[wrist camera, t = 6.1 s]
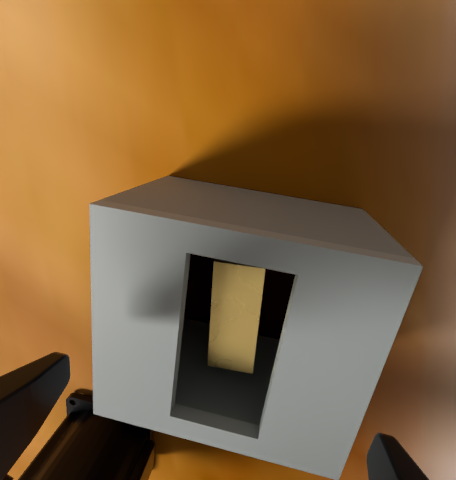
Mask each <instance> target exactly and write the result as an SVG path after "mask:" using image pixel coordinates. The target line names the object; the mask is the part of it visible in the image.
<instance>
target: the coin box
mask: <svg viewBox="0 0 456 480" xmlns="http://www.w3.org/2000/svg"><path fill="white" fill-rule="evenodd" d="M191 254H195V255H200V256H205V257H210V258H215V259H220V260H225V261H230V262H235V263H240V264H245V265H250V266H255V267H260V268H265V269H270V270H275V271H280V272H285V273H290V274H295V278H294V283H293V287H292V291H291V295H290V299H289V303H288V308H287V312H286V316H285V320H284V324H283V329H282V333H281V337H280V340H278V339H274V338H269V337H265V336H260V335H258V336H257V344H256V352H255V359H254V367H253V374H251V373H245V372H240V371H234V370H229V369H223V368H218V367H212V366H208V349H209V332H210V324H207V323H203V322H198V321H194V320H189V319H185V318H184V312H185V303H186V293H187V284H188V274H189V265H190V255H191ZM90 258H91V312H92V366H93V414H95V415H99V416H103V417H106V418H110V419H114V420H117V421H121V422H125V423H128V424H132V425H136V426H139V427H143V428H147V429H150V430H154V431H158V432H162V433H165V434H169V435H173V436H176V437H180V438H184V439H187V440H191V441H195V442H198V443H202V444H206V445H209V446H213V447H217V448H220V449H224V450H228V451H232V452H235V453H239V454H243V455H246V456H250V457H254V458H257V459H261V460H265V461H268V462H272V463H276V464H279V465H283V466H287V467H290V468H294V469H298V470H302V471H305V472H309V473H313V474H316V475H320V476H324V477H327V478H331V479H335V480H339V478H340V475H341V473H342V470H343V468H344V465H345V463H346V460H347V458H348V455H349V453H350V450H351V448H352V445H353V443H354V440H355V438H356V435H357V432H358V430H359V427H360V425H361V422H362V420H363V417H364V415H365V412H366V410H367V407H368V405H369V402H370V400H371V397H372V395H373V392H374V390H375V387H376V385H377V382H378V380H379V377H380V375H381V372H382V370H383V367H384V364H385V362H386V359H387V357H388V354H389V352H390V349H391V347H392V344H393V342H394V339H395V337H396V334H397V332H398V329H399V327H400V324H401V322H402V319H403V317H404V314H405V312H406V309H407V307H408V304H409V302H410V299H411V297H412V294H413V291H414V289H415V286H416V284H417V281H418V279H419V276H420V274H421V271H422V269H423V266H422V265H421V264H420V263H419V262H418V261H417V260H416V259H415V258H414V257H413V256H412V255H411V254H410V253H409V252H408V251H407V250H406V249H405V248H404V247H402V246H401V245H400V244H399V243H398V242H397V241H396V240H395V239H394V238H393V237H392V236H391V235H390V234H389V233H388V232H387V231H386V230H385V229H384V228H382V227H381V226H380V225H379V224H378V223H377V222H376V221H375V220H374V219H373V218H372V217H371V216H370V215H369V214H368V213H367V212H366V211H365V210H363V209H360V208H354V207H348V206H342V205H337V204H331V203H325V202H319V201H313V200H307V199H301V198H296V197H290V196H284V195H278V194H272V193H266V192H261V191H255V190H249V189H243V188H237V187H231V186H225V185H220V184H214V183H208V182H202V181H196V180H190V179H185V178H179V177H173V176H166V177H163V178H160V179H157V180H155V181H152V182H149V183H146V184H143V185H141V186H138V187H135V188H132V189H129V190H127V191H124V192H121V193H118V194H115V195H113V196H110V197H107V198H104V199H101V200H99V201H96V202H93V203H90Z"/></svg>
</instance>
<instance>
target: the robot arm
mask: <svg viewBox="0 0 456 480" xmlns="http://www.w3.org/2000/svg"><path fill="white" fill-rule="evenodd" d="M69 379H70V361H69V356H68V355H67V354H63V353H59V352H54V353H51V354H49V355H47V356H44V357H42V358H40V359H38V360H36V361H33V362H31V363H29V364H27V365H25V366H22V367H20V368H18V369H16V370H14V371H11V372H9V373H7V374H5V375H3V376H0V480H13V479H14V478H13V477H11V476H9V475H8V474H7V473H8V472H9V470H10V469H11V468H12V466H13V465H14V464H15V462H16V461H17V460H18V458H19V457H20V456H21V454H22V453H23V452H24V450H25V449H26V448H27V446H28V445H29V444H30V442H31V441H32V439H33V438H34V437H35V435H36V434H37V432H38V431H39V429H40V428H41V426H42V425H43V423H44V421H45V420H46V418H47V416H48V415H49V413H50V412H51V410H52V408H53V407H54V405H55V404H56V402H57V400H58V399H59V397H60V395H61V394H62V392H63V391H64V389H65V387H66V386H67V384H68V382H69ZM66 407H67V417H66V418H65V419H64V421H63V422H62V423H61V425H60V426H59V427H58V428H57V430H56V431H55V432H54V434H53V435H52V436H51V438H50V439H49V440H48V441H47V443H46V444H45V445H44V447H43V448H42V449H41V451H40V452H39V453H38V454H37V456H36V457H35V458H34V460H33V461H32V462H31V464H30V465H29V466H28V467H27V469H26V470H25V471H24V473H23V474H22V475H21V477H20V478H19V479H18V480H148V479H149V476H150V474H151V471H152V469H153V464H154V452H155V443H154V441H153V440H152V430H150V429H147V428H143V427H139V426H136V425H132V424H128V423H125V422H121V421H117V420H114V419H110V418H106V417H103V416H99V415H95V414H93V397H89V396H85V395H81V394H78V393H71V394H70V395H69V397H68V398H67V399H66ZM367 468H368V476H369V480H429V479H428V478H427V476H426V475H425V474H424V473H423V472H422V470H421V469H420V468H419V467H418V465H417V464H416V463H415V462H414V461H413V459H412V458H411V457H410V456H409V454H408V453H407V452H406V451H405V449H404V448H403V447H402V446H401V445H400V443H399V442H398V441H397V440H396V439H395V438H394V437H393V436H390V435H386V434H382V433H377V434H376V435H375V437H374V439H373V442H372V444H371V446H370V449H369V451H368V454H367Z"/></svg>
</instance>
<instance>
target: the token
mask: <svg viewBox="0 0 456 480" xmlns="http://www.w3.org/2000/svg"><path fill="white" fill-rule="evenodd" d="M265 272H266V269H265V268H260V267H255V266H250V265H245V264H240V263H235V262H230V261H225V260H220V259H215V260H214V264H213V281H212V298H211V315H210V332H209V349H208V366H212V367H218V368H223V369H229V370H234V371H240V372H245V373H251V374H253V367H254V359H255V352H256V344H257V336H258V329H259V321H260V313H261V305H262V297H263V289H264V280H265Z"/></svg>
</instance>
